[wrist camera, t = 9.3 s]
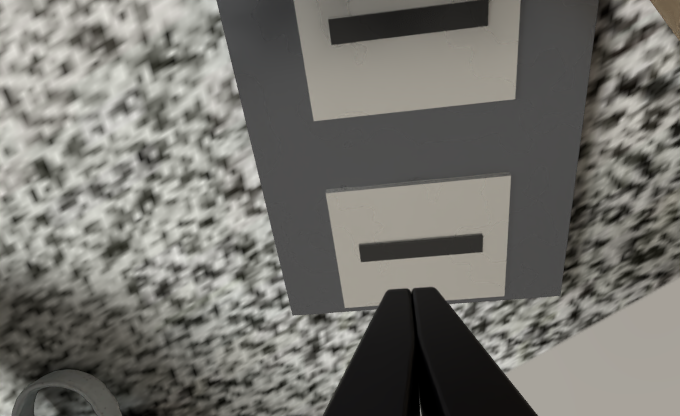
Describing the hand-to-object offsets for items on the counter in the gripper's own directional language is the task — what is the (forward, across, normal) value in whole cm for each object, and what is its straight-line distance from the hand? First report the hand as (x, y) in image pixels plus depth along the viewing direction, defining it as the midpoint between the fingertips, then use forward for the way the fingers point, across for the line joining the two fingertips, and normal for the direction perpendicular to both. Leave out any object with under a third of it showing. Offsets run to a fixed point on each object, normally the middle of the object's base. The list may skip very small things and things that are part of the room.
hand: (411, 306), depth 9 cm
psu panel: (+12, -1, +2) cm, 12 cm away
